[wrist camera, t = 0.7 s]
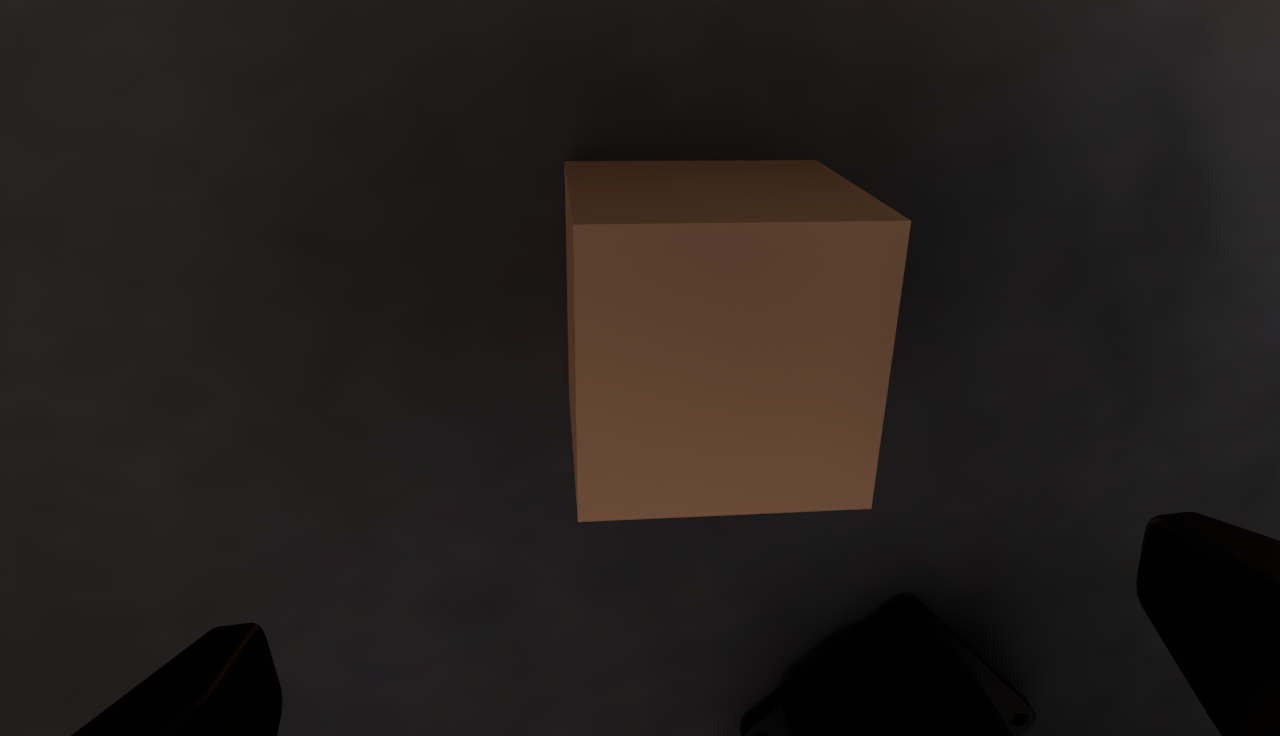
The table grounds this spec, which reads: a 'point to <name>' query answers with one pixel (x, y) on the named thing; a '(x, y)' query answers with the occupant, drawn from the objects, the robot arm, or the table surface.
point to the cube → (727, 336)
